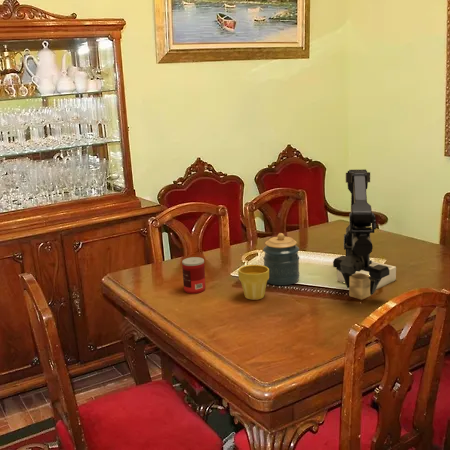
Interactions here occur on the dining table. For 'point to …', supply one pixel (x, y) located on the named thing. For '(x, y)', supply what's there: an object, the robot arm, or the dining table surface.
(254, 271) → the plant pot
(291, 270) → the canister
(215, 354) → the dining table surface
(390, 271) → the bin
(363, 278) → the wooden block
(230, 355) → the dining table surface
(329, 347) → the dining table surface
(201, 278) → the canned food
